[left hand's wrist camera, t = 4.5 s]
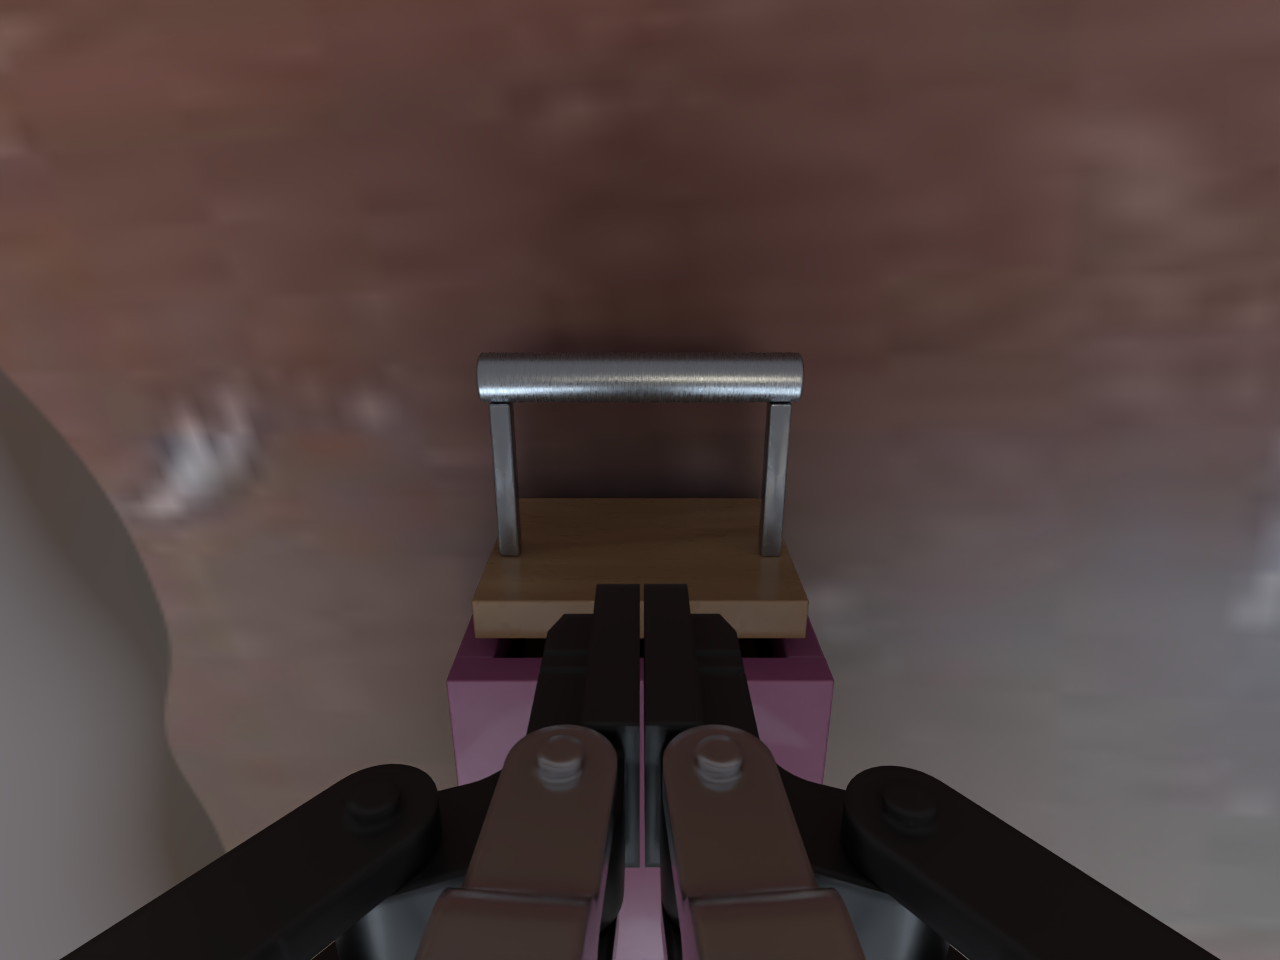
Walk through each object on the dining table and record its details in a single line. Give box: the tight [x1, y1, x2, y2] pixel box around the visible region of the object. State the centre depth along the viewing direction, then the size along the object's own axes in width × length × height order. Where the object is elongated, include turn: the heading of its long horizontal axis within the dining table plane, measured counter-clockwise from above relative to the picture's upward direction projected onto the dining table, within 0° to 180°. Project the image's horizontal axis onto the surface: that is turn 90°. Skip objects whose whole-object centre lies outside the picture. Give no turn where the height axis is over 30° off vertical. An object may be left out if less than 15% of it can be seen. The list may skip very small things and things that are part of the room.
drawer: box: [472, 353, 809, 658], centre depth 26 cm, size 26×9×7 cm, turn 0°
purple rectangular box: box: [446, 615, 834, 960], centre depth 28 cm, size 21×10×9 cm, turn 0°
